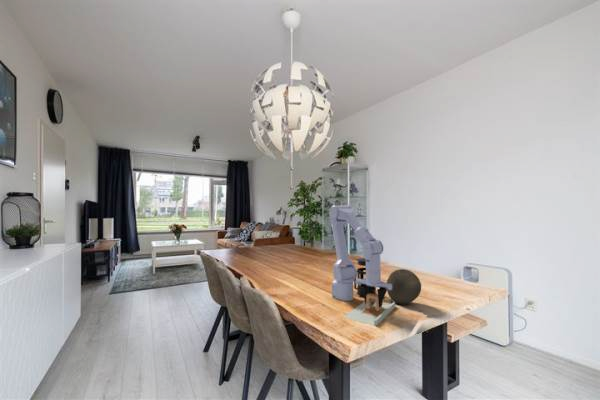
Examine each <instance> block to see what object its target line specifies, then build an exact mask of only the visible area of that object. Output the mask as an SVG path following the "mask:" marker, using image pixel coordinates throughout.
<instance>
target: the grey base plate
mask: <svg viewBox="0 0 600 400" xmlns="http://www.w3.org/2000/svg"><path fill="white" fill-rule="evenodd" d="M372 307H373V308H376V303H375V304H374V305H372ZM372 307H371V308H372ZM395 308H396V303H395V302H394V301H392V303H390V305H389V304H388V305H387V304H383V303H382V306H381V309H380V310H383V311H382V312H381V313H380V314H379V315H378V316H377V315H373V314H372V315H371V314H368V313H365V311H366V310H367V309H368V308H367V307H366V304H365V301H363V302H361V304H359V305H358V306H357V307H355V308H353V309H352V310H351V311H349V312H348V313H347V314H345V315H344V316H343V318H344V319H348V320H351V321H356V322H359V323H363V324H367V325H372V326H374V327H375V326H376V327H377V326H378V325H379V324H380V323H381V322H382V321H383V320H384V319H385V318H386V317H387V316H388V315H389V314H390V313H391V312H392V311H393V310H394V309H395ZM363 312H364V313H363Z"/></svg>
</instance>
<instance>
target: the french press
mask: <svg viewBox="0 0 600 400" xmlns="http://www.w3.org/2000/svg"><path fill="white" fill-rule="evenodd" d="M356 261H357V265H358V266H363V267H358V268H356V270H357V277H356V278H355V279H354V280H355V281H353V290H356V295H357V296H360V297H363V298H364V296H363V294H362V292H361V290H360V285H361V284H356V279H364V275H365V276H366V259H365V258H364V257H362V258H357V259H356ZM369 293H371V294H376V295H377V287H372V286H370V287H369Z"/></svg>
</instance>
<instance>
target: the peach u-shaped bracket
mask: <svg viewBox="0 0 600 400" xmlns="http://www.w3.org/2000/svg"><path fill="white" fill-rule="evenodd" d="M374 299H375V300H376V307H375V311H376V312H379V311H380V310H382V309H381V307H379V304H378V302H379V298H378V294H377V293H376V294H371V293H368V294H367V295H366V307H367V309H371V308H372V306H369V301H372V300H374Z"/></svg>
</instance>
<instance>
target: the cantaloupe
mask: <svg viewBox="0 0 600 400" xmlns="http://www.w3.org/2000/svg"><path fill="white" fill-rule="evenodd" d="M386 283H389V284H392V290H388V289H387V296H388V297H389V298H390V299H391V300H392V302H395V304H397V305H408V304H411V303H413V302H414V301H415V300H416V299H417V298H419V296H420V294H421V292H422V283H421V281H420V278H419V277H418V276H417V275H416V273H414V272H413V271H411V270H410V269H409V270H408V269H405V268H404V269H403V268H402V269H401V268H400V269H396V270H393V271H392V272H391V273H390V274H389V275H388V278H387V280H386Z"/></svg>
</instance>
